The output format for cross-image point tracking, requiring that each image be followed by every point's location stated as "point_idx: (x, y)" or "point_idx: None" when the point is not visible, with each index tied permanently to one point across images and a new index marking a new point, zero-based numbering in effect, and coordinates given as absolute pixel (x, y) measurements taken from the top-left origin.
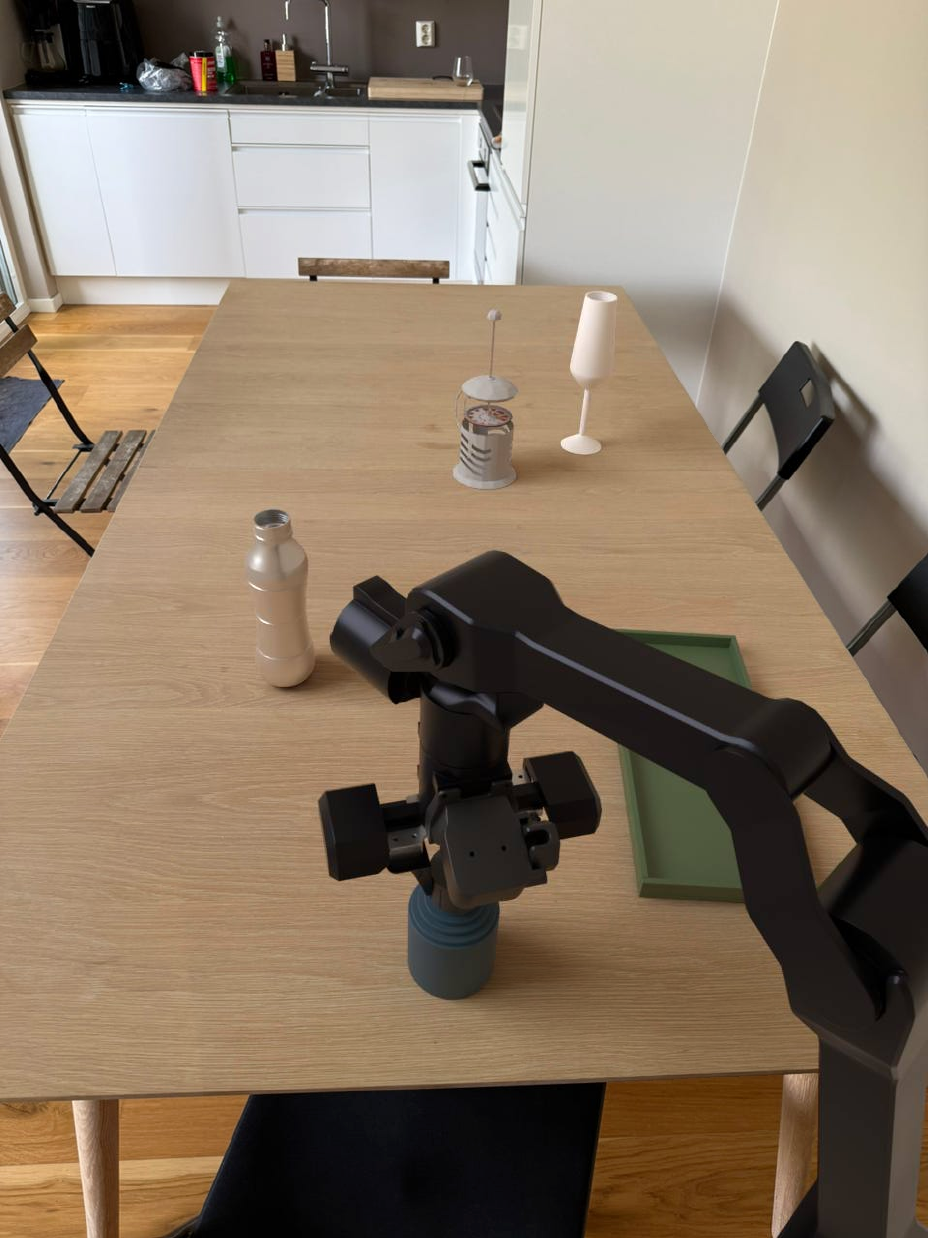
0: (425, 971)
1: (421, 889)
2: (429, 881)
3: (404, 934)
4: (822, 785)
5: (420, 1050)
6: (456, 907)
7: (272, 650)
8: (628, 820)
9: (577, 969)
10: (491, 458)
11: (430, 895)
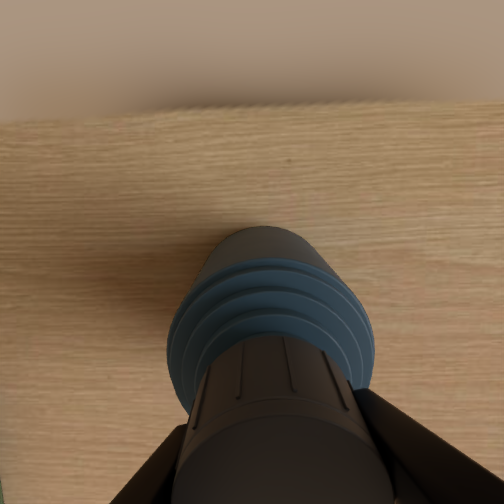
0: (313, 250)
1: None
2: (411, 459)
3: None
4: None
5: (311, 147)
6: (276, 352)
7: None
8: (1, 498)
9: (77, 273)
10: None
11: (356, 390)
